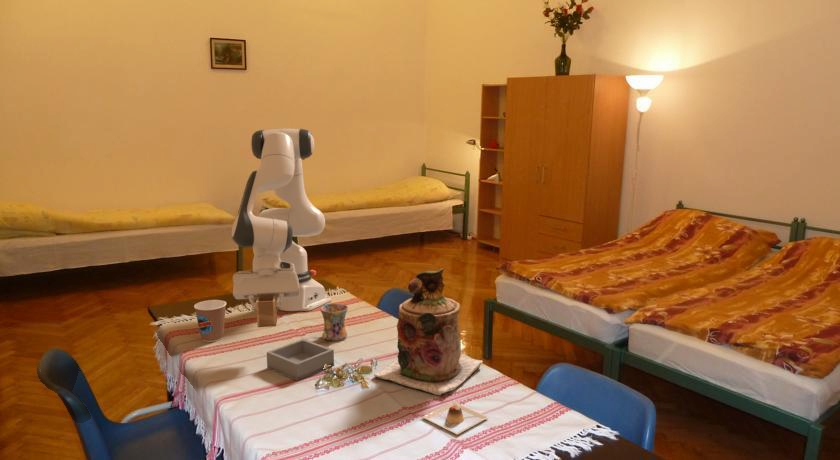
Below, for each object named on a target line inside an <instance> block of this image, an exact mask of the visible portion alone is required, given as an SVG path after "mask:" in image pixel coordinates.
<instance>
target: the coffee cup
mask: <svg viewBox="0 0 840 460" xmlns="http://www.w3.org/2000/svg"><path fill="white" fill-rule="evenodd" d="M226 305H227V301H225V300H221V299H208V300H203V301H199V302H196V303H195V304H194V305H193V307H194V309H195V310H194V311H195V314H196V321H197V327H198V330H199V334H200V338H201V340H202V342H206V343H214V342H218V341H220V340H222V339H223V338H224V334H225V324H226V322H225V321H226Z"/></svg>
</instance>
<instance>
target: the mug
mask: <svg viewBox="0 0 840 460" xmlns="http://www.w3.org/2000/svg"><path fill="white" fill-rule="evenodd" d="M319 310H320V312H321V314H322V317H323V322H324V324H323V325H324V328H323V333H322V334H321V337H322V339H323V340H326V341H330V342H331V341H333V342H334V341H336V342H337V341H341V340H343V339H344V340H345V339H346V338H347V336H348V332H347V330H346V326H345V321H346V314H347V312H348V310H349V307H348V306H347V305H345V304H342V303H327V304H324V305H321V306H320V308H319Z"/></svg>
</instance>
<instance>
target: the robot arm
mask: <svg viewBox="0 0 840 460" xmlns="http://www.w3.org/2000/svg"><path fill="white" fill-rule="evenodd" d="M250 149H251V150H250V151H251V153H252V155H253V156H254V158H256V159H258V160H260V165H259V167H258V168H257V170H253V171H252V172H251V173H250V175H249V177H248V179H247V181H246V184H245V188H244V191H243V195H242V197H241V201H240V205H239V208H238V212H237V215H236V218H235V220H234V221H233V225H232V229H231V239H232V241H233V242H234V243H235V244H236V245H237V246H239V247H240V248H252V252H253V255H254V256H253V259H252V270H238V271H237V272H235V273H234V274H233V276H232V282H233V287H232V288H233V289H232V296H233V298H234V299H235V300H248V301H249V303H250V305H251V306H252V307H251V308H252V312H255V311H256V302H255V300H256V299H257V297H258V296H269V295H276V309H277V310H280V311H285V312H302V311H305V312H308V311H310V312H311V311H312V310H314V309H316V308H319V307H322V306H324V305H327V304H329V303H330V302H332V297H330V296H329V295H327V294H326V290H325V287H324V286H323V285H322V284H321V283H320V282H318V281H316V280H315V279H313V278H312V276H316V275H317V271H316V270H314V269H311V270H310V269H308V253H307V251H306V249H305V248H304V247H303V246H302V245H299V244H297V243H295V241H294V240H293V237H300V238H301V237H304V238H305V237H307V238H308V237H313V236H314V237H315V236H317V235H321V233H322V232H323V231H324V230H325V228H326V218H325V215H324V213H323V212H322V211H321V210H320V209H319V208H317V207H316V206H315V205H314V204H312V202H311V201H310V199H309V198H308V196H307V195H308V194H307V193H306V190H305V182H304V170H303V161H305V160H306V159H308V158H310V157H311V156H312V155H313V152H314V149H315V139H314V136H313V134H312V133H311V131H310V130H308V129H304V128H300V129H297V128H289V127H288V128H276V129H275V128H274V129H261V130H260V129H259V130H257V131H254V133H253V134H252V136H251V139H250ZM268 191H273V192H274V195H275V196H276V197H278V198H279V199H280V200H282V201H284V202H286V203H287V204H288V205H289V206H290V207H273V208H268V209H264V210H262V211H261V212H260V213H259V214H258V215H257V216H256V215H254V214H253V212H254V207H255V203H256V200H257V197H258V195H259V194H261V193H263V192H268ZM256 312H257V311H256Z"/></svg>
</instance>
